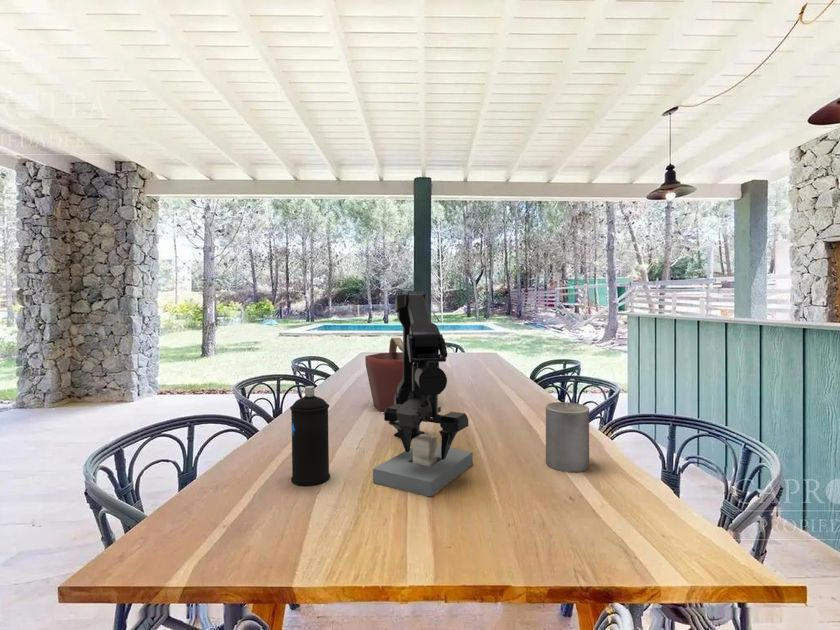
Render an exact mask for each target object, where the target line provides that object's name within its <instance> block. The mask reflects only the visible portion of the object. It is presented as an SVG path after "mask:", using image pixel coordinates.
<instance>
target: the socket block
mask: <svg viewBox="0 0 840 630" xmlns="http://www.w3.org/2000/svg"><path fill="white" fill-rule="evenodd" d="M473 453H474V451H469V450H464V449H459V448H454V447H450V448H449V451H448V453H447V456H446V458H445V459H444V460H442V458H441V445H437V463H435V464H434V465H432V466H431V467H429V466H424V465H420V464H415V463H413V446H411V447H410V451H409V452H406V451H405V450H404V451H403V452H401V453H399V454H397V455H396V456H393V457H392V458H390V459H388V460H386V461H384V462H383V463H380V464H379V465H377V466H375V467H374V468H372V483H374V484H377V485H382V486H385V487H389V488H393V489H397V490H400V491H401V490H402V491H405V492H408V493H411V494H413V493H414V494H416V493H417V495H420V496H424V495H425V497H428V496H430V497H429V498H432V497H433V496H434V495H436V494H437V493H438V492H439V491H441V490H442V489H443V488H445V487H446V486H447V485H449V484H450V483H451V482H452V481H454V480H455V479H456V478H458V477H459V476H461V474H463V473H464V472H466V471H467V470H468V469H469V468H470V467H472V466H473V464H474V462H473V460H474V457H473V455H474V454H473ZM453 479H454V480H453ZM449 482H450V483H449ZM445 485H446V486H445ZM444 486H445V487H444ZM441 488H442V489H441ZM440 489H441V490H440ZM437 491H438V492H437ZM436 492H437V493H436ZM433 494H434V495H433ZM432 495H433V496H432ZM431 496H432V497H431Z"/></svg>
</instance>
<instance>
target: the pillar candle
mask: <svg viewBox="0 0 840 630" xmlns="http://www.w3.org/2000/svg"><path fill="white" fill-rule="evenodd" d="M545 464H546V466H548V467H549V468H551V469H552V470H556V471H558V472H564V473H565V472H566V473H572V472H573V473H574V472H575V473H579V472H580V473H581V472H585V471H587V470H588V469H589V467H590V408H589V407H588V406H587V405H585V404H580V403H576V402H570V401H568V400H567V402H566V401H565V402H564V401H561V402H560V401H559V402H558V401H557V402H556V401H555V402H550V403H547V404H546V405H545Z"/></svg>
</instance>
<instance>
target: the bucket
mask: <svg viewBox="0 0 840 630" xmlns="http://www.w3.org/2000/svg"><path fill="white" fill-rule="evenodd" d="M397 349H399V350H400V351H401V352H399V351H397ZM365 368H366V373H367V374H366V375H367V377H368V383H369V388H370V393H371V397H372V398H371V399H372V403H373V407H375V408H376V409H375V408H374V409H375V410H376V411H378V410H379V411H378V412H380V413H381V412H385V410H386V408H388V407H390V406H393V405H394V399H395V394H397V386H398V385H399V383H400V381H401V380H402V378H403V339H402V338H401V337H391V338H390V339H389V348H388V352H378V353H373V354H368V355H365Z"/></svg>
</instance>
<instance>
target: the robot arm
mask: <svg viewBox="0 0 840 630" xmlns="http://www.w3.org/2000/svg"><path fill="white" fill-rule="evenodd" d="M428 300H429V298H428V296H427V295H426V292H425V291H423V290H408V291H405V292H404V293H403V294H400V295H397V296H396V298H395V302H394V312H395V313H397V315H396V317H397V319H398V320H399V323H400V324H401V325H402V342H403V378H402V380H401V381H400V383H399V385H398V386H397V394H395V399H394V405H393V406H390V407H388V408H386V410H385V412H384V413H383V420H384V422H388V424H389V425H390V426H393V427H394V428H395V429H396V430H397V432H395V433H394V435H393V436H395V437H398V438H400V440H401V442H402V446H403V448H404V451H406V452H409V451H410V448H411V447H412V446H411V445H412V440H413V438H415V437H417V436H419V435H421V434H423V435H425V431H422V430H421V428H420V427H421V423H422V422H424V423H427V422H428V423H431V424H432V423H435V424H439V426H440V428H441V430H439V432H438V433H439V434H440V436H441V443H440V444H441V445H440V446H441V458H442V460H444V459H445V458H446V456H447V453H448V451H449V448H451V446H452V444H453V441H454V439H455V437H456V435H457V433H459V432H460V431H462V430H464V429H466V428H467V427H469V417H468V415H467V414H466V413H464V412H457V411H449V412H447V413H445V414H439V413H441V410H442V409H441V406H439V395H440V394H442V393H443V392H444V391H445V389H446V387H447V383H448V377H447V375H446V373H445V371H444V370H443V369H442V368H440V363H445V362H447V358H448V349H447V344H446V341H445V338H444V335H443V334H442V333H441V332H440V329H439V327H438V325H437V324H435V323H433V322H432V321H431V320H430V316H429V312H428V310H429V301H428Z"/></svg>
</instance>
